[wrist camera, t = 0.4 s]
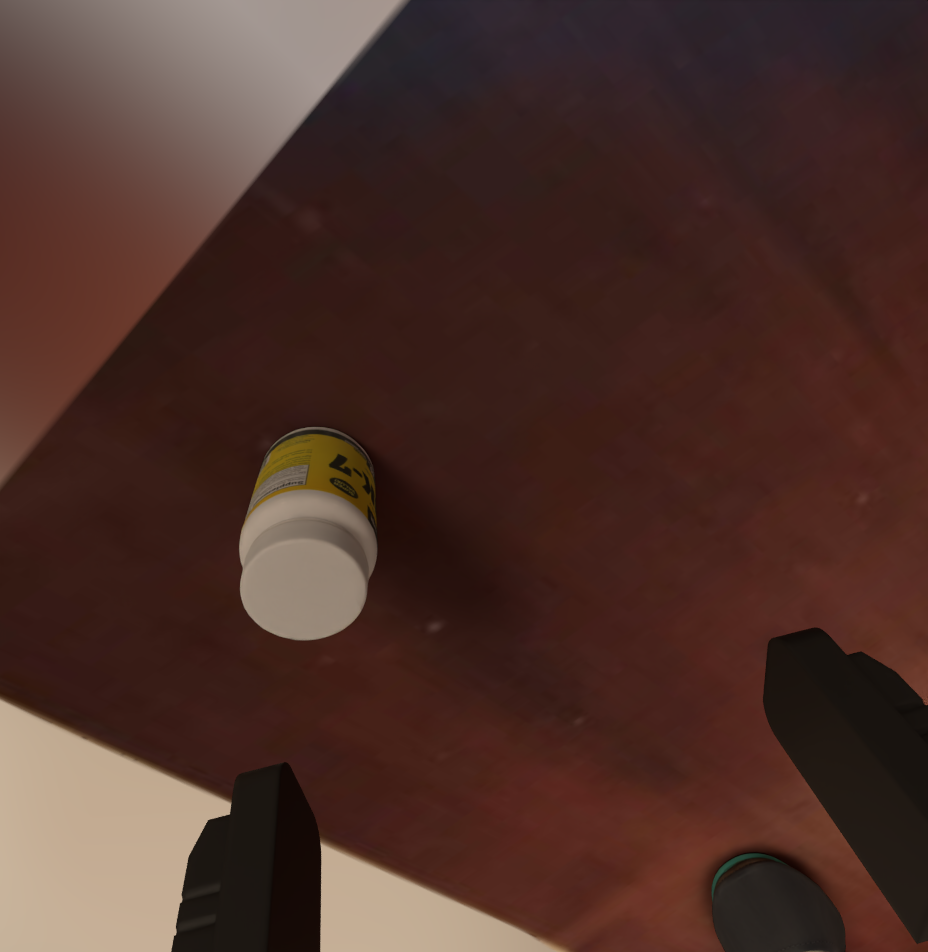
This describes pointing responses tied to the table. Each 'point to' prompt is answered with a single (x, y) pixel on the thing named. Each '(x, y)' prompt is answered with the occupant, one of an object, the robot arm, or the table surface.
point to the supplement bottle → (309, 535)
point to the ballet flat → (772, 909)
